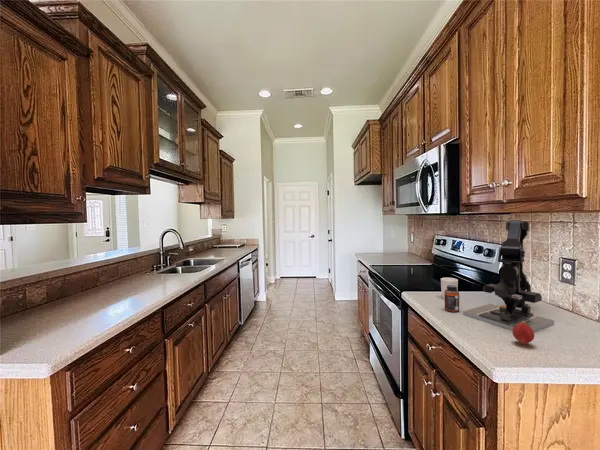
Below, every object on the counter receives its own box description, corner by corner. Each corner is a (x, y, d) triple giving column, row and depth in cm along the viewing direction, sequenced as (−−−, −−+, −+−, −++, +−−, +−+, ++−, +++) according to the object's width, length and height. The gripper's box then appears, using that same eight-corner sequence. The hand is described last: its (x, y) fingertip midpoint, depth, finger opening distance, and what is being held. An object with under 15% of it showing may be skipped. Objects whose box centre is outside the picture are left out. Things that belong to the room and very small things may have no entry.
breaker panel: (490, 306, 133) (490, 296, 133) (554, 324, 112) (554, 311, 112) (463, 314, 124) (463, 303, 124) (526, 335, 103) (527, 321, 103)
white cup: (442, 295, 153) (442, 276, 153) (458, 297, 149) (458, 278, 148) (439, 299, 147) (439, 279, 146) (456, 301, 142) (456, 281, 142)
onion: (508, 341, 99) (508, 318, 99) (523, 339, 99) (523, 317, 99) (522, 349, 93) (522, 325, 93) (538, 347, 94) (539, 323, 93)
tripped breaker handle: (501, 311, 120) (501, 305, 120) (508, 313, 118) (508, 306, 118) (499, 312, 120) (499, 305, 120) (505, 313, 117) (505, 307, 117)
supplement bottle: (461, 312, 127) (461, 287, 126) (446, 312, 128) (446, 287, 127) (456, 308, 133) (456, 284, 132) (442, 307, 134) (442, 284, 133)
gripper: (475, 274, 121) (475, 310, 121) (527, 283, 104) (527, 325, 105) (491, 270, 126) (491, 305, 126) (542, 279, 109) (542, 319, 110)
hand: (510, 313), depth 117 cm, fingers closed
